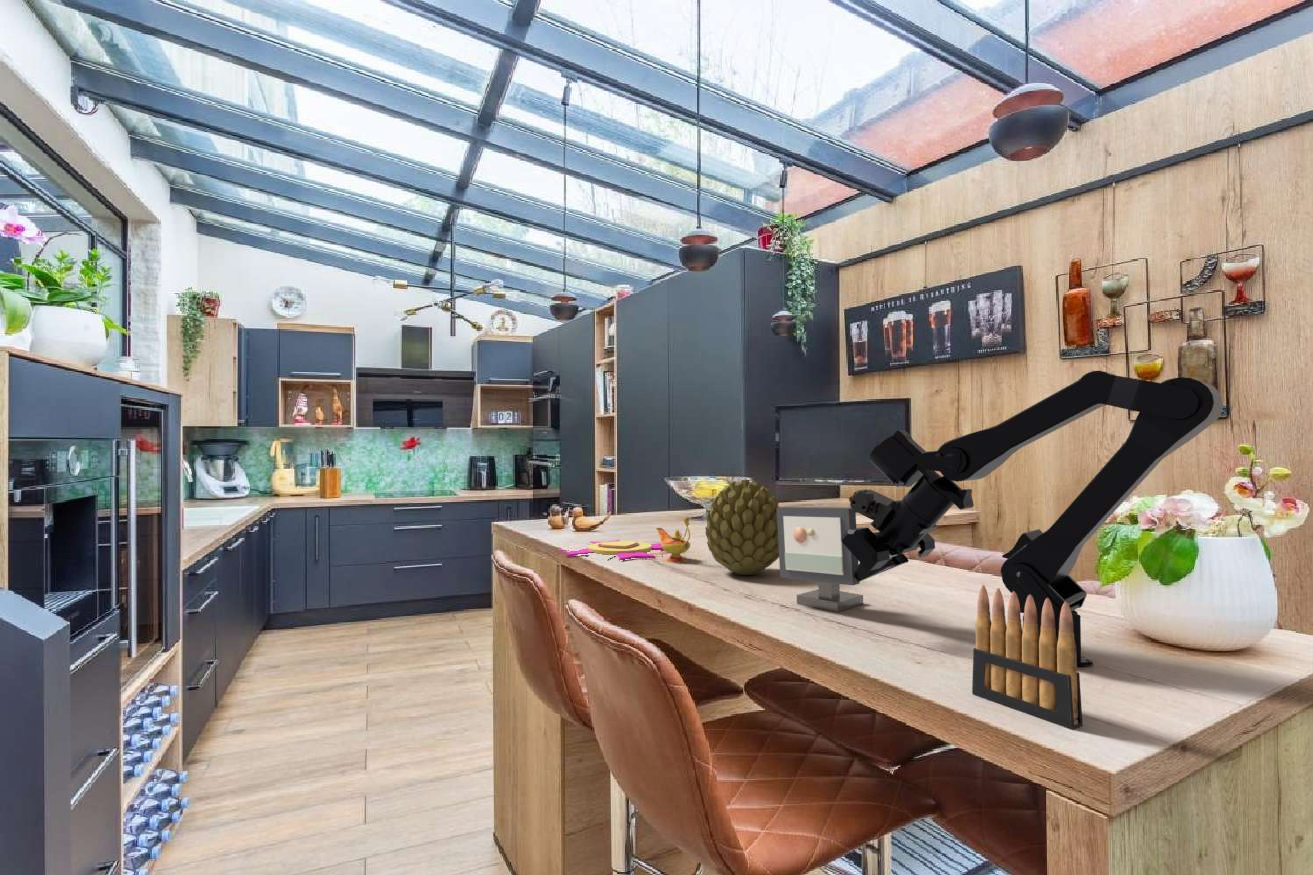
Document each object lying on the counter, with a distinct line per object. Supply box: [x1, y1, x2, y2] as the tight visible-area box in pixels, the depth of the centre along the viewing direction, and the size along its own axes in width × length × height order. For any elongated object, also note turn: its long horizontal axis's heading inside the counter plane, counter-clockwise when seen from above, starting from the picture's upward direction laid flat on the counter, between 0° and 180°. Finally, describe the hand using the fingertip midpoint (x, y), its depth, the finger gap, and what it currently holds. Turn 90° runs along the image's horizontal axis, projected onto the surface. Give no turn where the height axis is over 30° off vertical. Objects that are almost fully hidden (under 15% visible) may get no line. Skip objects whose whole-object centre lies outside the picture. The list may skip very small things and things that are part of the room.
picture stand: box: [796, 582, 864, 613], centre depth 115 cm, size 8×8×14 cm
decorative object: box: [705, 479, 781, 576], centre depth 142 cm, size 17×17×20 cm
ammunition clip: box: [971, 584, 1084, 730], centre depth 69 cm, size 11×2×12 cm, turn 30°
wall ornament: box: [558, 539, 669, 561], centre depth 174 cm, size 30×2×30 cm
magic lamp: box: [655, 516, 691, 563], centre depth 160 cm, size 7×18×11 cm, turn 24°
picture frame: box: [777, 506, 861, 586], centre depth 110 cm, size 14×2×12 cm, turn 43°
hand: (857, 578), depth 105 cm, fingers closed, pressing on picture frame
